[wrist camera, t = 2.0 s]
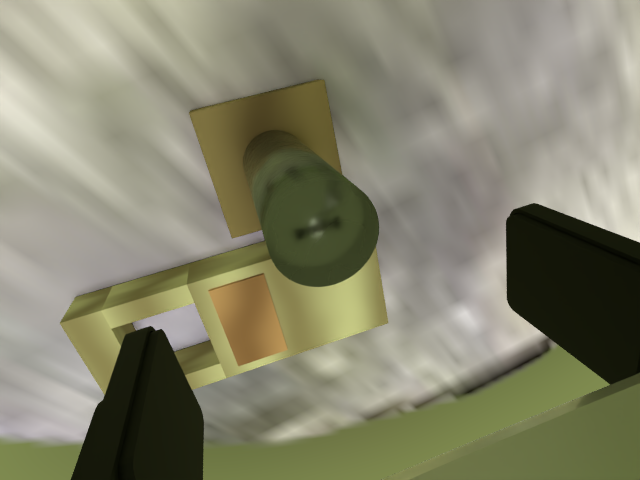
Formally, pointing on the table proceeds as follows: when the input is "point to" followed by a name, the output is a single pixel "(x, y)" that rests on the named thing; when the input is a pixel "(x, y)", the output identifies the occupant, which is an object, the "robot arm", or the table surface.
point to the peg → (308, 211)
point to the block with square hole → (227, 313)
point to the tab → (244, 125)
